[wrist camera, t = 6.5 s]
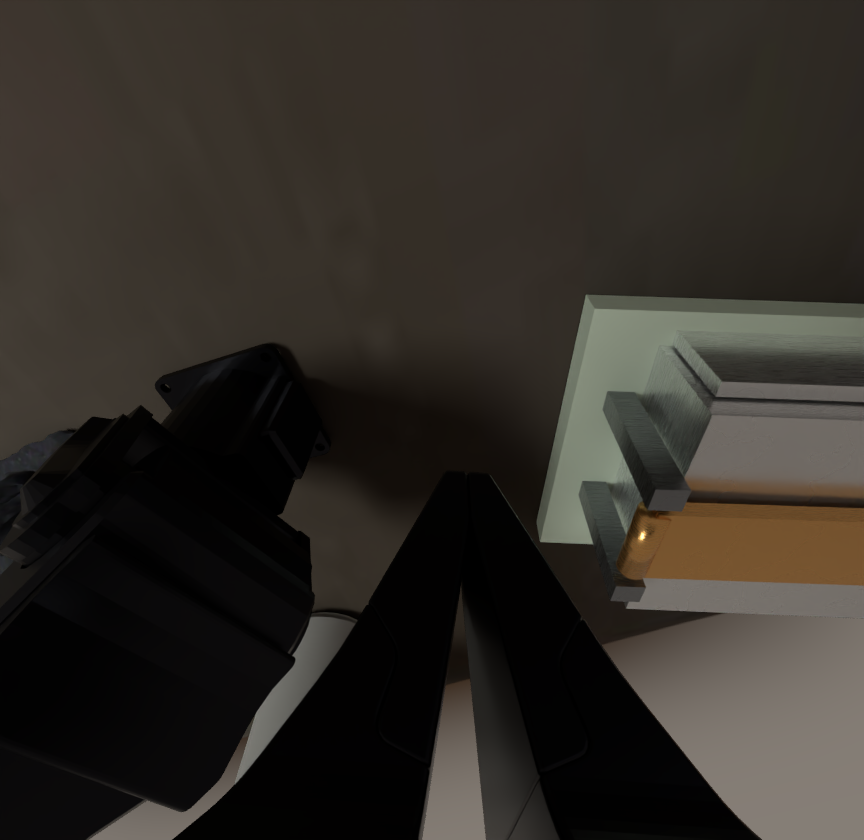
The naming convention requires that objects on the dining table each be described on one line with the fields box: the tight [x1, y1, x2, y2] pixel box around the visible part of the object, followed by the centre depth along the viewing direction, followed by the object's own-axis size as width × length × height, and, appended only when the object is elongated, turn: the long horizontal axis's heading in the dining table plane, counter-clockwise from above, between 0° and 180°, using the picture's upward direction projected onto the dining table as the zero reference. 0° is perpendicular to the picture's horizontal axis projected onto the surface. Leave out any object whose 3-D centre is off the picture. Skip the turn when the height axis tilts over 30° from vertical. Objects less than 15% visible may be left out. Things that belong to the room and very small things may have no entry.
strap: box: [616, 501, 864, 586], centre depth 18 cm, size 15×4×1 cm, turn 89°
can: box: [234, 612, 357, 785], centre depth 32 cm, size 8×8×12 cm
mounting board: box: [536, 295, 864, 544], centre depth 24 cm, size 20×14×2 cm
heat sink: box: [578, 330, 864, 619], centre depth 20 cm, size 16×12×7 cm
